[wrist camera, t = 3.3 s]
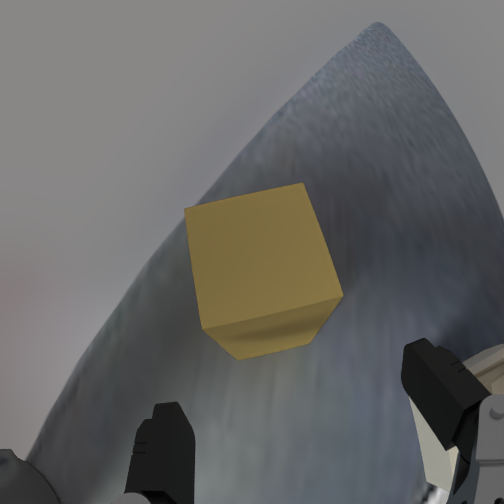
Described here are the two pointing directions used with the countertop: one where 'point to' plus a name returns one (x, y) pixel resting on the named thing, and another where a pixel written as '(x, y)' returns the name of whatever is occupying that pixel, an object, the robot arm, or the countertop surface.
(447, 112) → the countertop surface
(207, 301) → the mustard block
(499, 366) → the birch tower top
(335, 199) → the countertop surface
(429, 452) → the cream tower base
